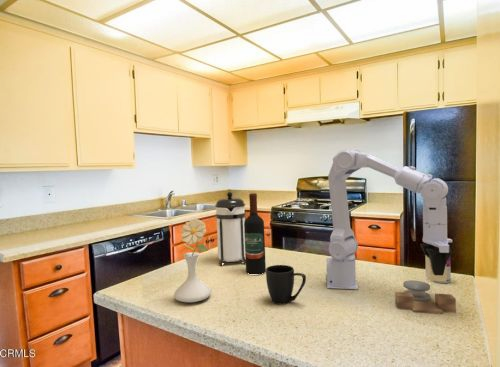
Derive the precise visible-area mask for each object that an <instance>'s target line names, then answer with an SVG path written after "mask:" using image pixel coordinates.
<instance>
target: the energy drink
mask: <svg viewBox="0 0 500 367" xmlns="http://www.w3.org/2000/svg"><path fill="white" fill-rule="evenodd" d="M449 250H451V246H449ZM451 271H452V270H451V256H450V257H449V259H448V261H447V263H446V272H447V281H433V282H435V283H438V284H449V283H450V282H451V281H452V280H451V278H452V277H451V274H452V273H451Z"/></svg>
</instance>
